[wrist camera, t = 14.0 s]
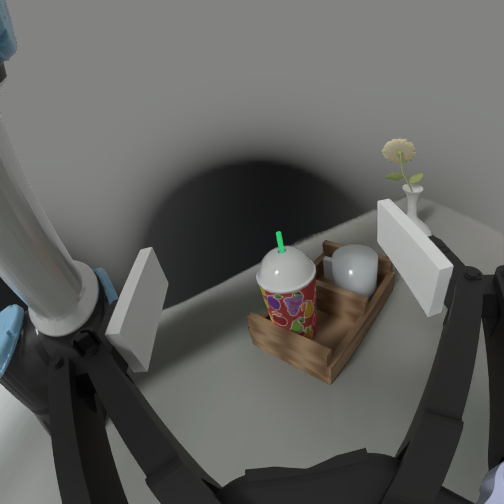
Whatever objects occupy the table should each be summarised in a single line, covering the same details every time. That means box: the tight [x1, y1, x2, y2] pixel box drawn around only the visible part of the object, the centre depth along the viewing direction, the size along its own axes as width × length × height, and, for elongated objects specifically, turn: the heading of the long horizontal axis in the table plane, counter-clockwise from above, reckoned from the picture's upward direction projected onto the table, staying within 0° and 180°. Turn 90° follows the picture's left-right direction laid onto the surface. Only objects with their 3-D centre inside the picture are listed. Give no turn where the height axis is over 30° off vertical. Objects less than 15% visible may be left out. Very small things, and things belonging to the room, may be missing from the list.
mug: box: [323, 244, 378, 303], centre depth 51 cm, size 10×8×9 cm
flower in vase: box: [382, 138, 432, 237], centre depth 59 cm, size 13×11×25 cm
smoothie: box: [256, 232, 317, 340], centre depth 43 cm, size 8×8×20 cm
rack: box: [247, 240, 395, 385], centre depth 50 cm, size 16×24×8 cm, turn 138°
